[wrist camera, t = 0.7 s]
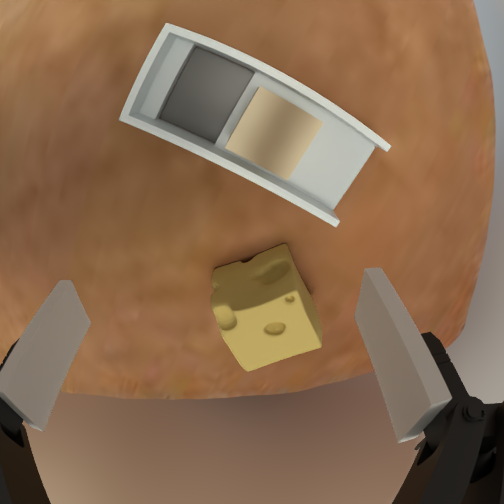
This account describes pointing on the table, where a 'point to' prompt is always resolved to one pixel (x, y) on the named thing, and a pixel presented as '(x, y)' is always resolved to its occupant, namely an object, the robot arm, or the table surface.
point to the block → (273, 133)
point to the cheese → (265, 309)
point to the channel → (222, 104)
